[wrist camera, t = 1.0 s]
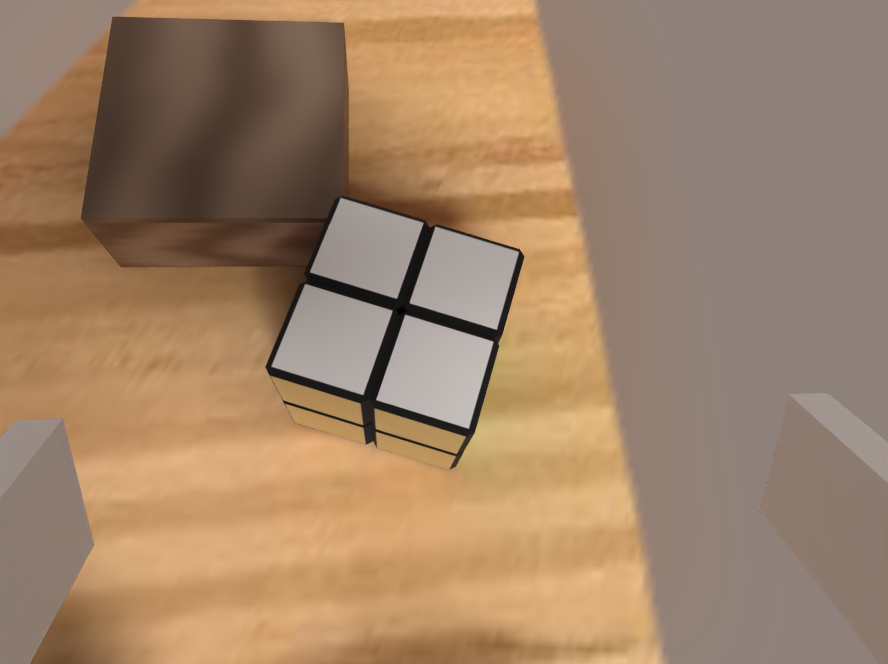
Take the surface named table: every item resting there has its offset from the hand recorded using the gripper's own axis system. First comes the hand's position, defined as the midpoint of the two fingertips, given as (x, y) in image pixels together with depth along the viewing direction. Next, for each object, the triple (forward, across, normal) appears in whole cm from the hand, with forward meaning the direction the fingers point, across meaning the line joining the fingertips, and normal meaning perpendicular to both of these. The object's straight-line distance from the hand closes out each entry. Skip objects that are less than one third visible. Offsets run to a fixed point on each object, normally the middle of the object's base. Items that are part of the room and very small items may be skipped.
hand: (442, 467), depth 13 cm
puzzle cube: (+27, 0, -12) cm, 29 cm away
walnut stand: (+36, -10, -2) cm, 38 cm away
